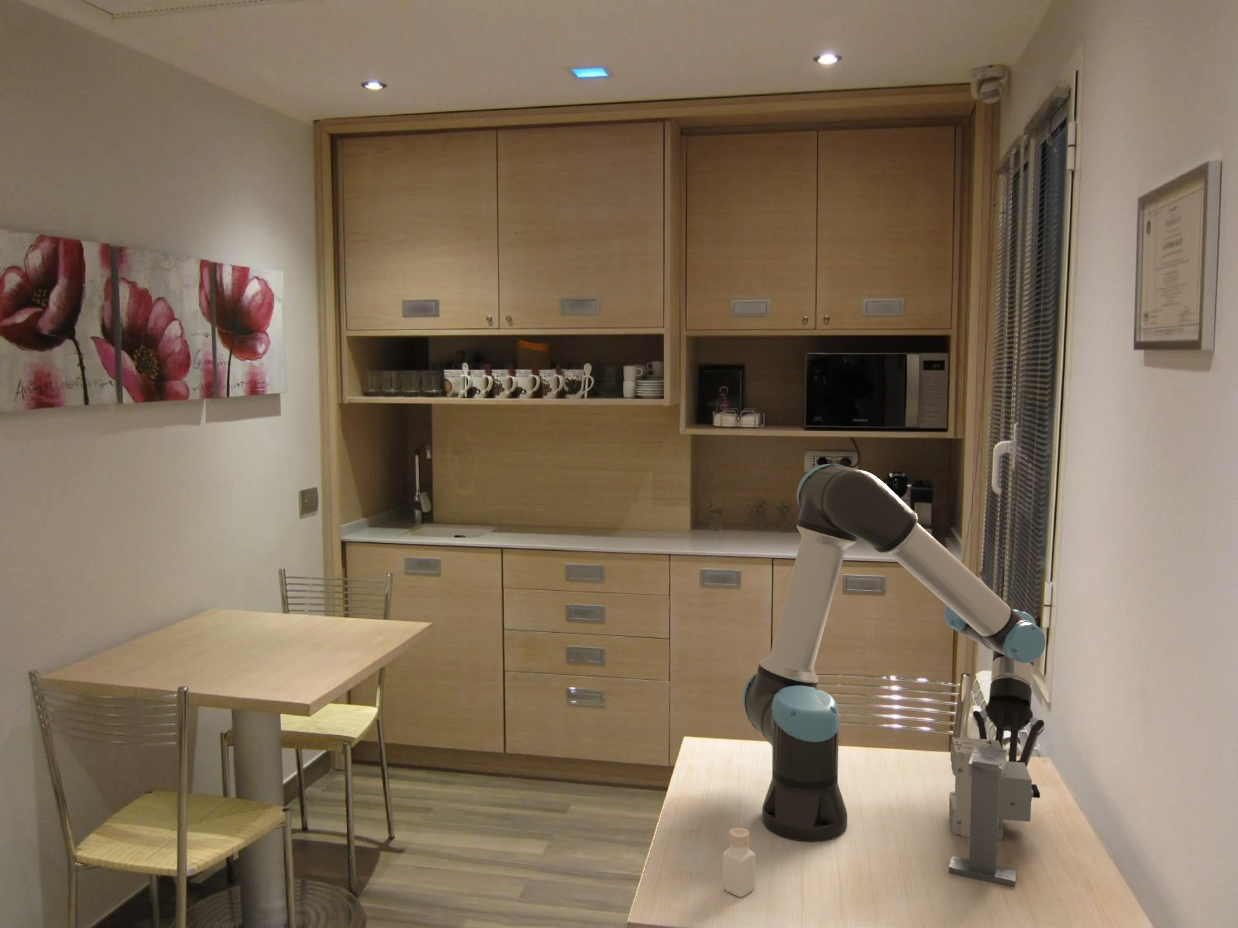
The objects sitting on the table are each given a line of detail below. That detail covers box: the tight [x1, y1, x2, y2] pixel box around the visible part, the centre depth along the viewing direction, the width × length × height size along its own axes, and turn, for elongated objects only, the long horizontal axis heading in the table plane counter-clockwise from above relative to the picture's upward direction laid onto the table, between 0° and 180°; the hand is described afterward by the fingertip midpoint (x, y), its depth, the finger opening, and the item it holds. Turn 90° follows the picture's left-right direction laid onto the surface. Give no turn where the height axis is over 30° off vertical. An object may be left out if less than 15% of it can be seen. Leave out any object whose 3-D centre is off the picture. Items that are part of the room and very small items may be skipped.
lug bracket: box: [948, 745, 1018, 888], centre depth 160 cm, size 10×10×19 cm
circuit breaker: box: [948, 736, 1041, 841], centre depth 172 cm, size 8×14×15 cm, turn 76°
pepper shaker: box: [722, 827, 756, 898], centre depth 153 cm, size 4×4×10 cm
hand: (1001, 801), depth 177 cm, fingers closed
